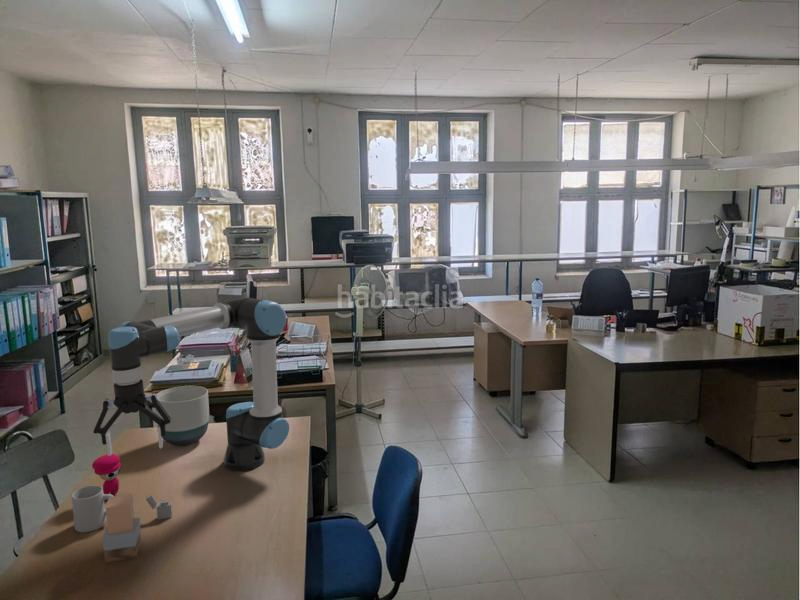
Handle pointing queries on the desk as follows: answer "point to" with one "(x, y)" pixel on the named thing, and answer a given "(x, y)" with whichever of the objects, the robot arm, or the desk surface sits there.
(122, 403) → the robot arm
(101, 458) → the toy
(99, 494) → the mug
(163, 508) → the lighter
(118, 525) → the clay block
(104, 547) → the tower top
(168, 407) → the planter
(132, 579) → the desk surface
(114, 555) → the tower base
